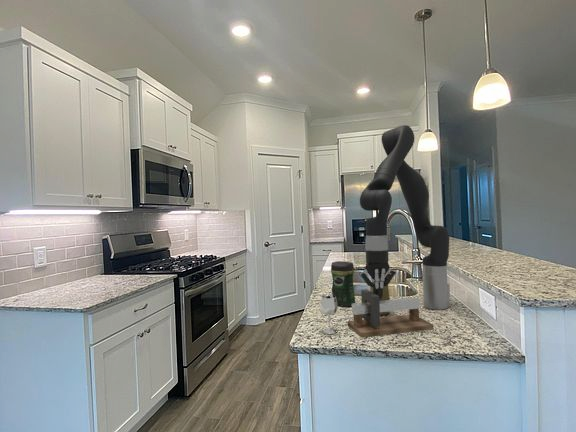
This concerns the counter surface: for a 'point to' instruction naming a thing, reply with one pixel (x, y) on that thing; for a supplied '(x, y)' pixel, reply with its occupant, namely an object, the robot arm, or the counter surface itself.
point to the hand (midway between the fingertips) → (378, 298)
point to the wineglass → (329, 309)
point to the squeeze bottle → (385, 296)
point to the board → (390, 324)
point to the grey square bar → (387, 305)
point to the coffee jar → (343, 282)
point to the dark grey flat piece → (374, 305)
